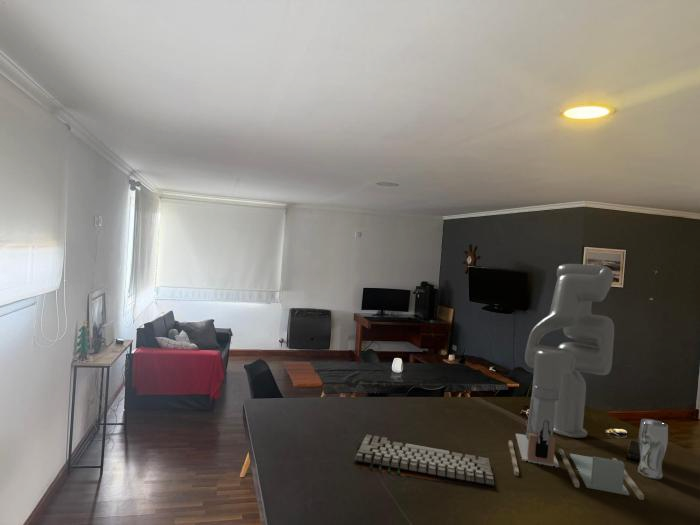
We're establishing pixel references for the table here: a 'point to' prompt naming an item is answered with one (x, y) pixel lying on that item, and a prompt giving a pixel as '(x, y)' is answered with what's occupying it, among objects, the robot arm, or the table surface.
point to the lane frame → (572, 474)
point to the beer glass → (652, 447)
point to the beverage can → (529, 427)
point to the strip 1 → (529, 448)
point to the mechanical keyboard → (423, 462)
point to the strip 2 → (601, 473)
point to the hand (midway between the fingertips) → (540, 454)
